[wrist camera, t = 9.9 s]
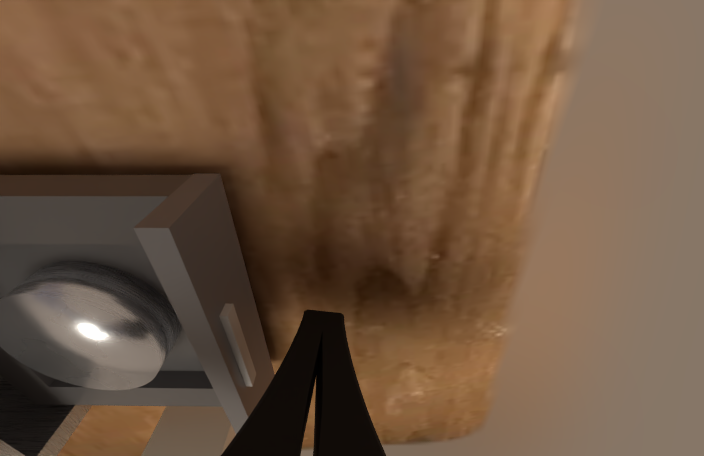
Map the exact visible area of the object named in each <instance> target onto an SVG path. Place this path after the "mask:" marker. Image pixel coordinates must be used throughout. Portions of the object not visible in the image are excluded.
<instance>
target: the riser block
mask: <svg viewBox="0 0 704 456" xmlns="http://www.w3.org/2000/svg"><path fill="white" fill-rule="evenodd" d="M235 436H236V433H235V431H234V429H233V427H232V425H231V423H230V421H229V419H228V417H227V415H226V413H225V411H224V409H223V407H205V406H166V408H165V410H164V412H163V414H162V416H161V418H160V420H159V422H158V424H157V426H156V428H155V430H154V432H153V434H152V436H151V438H150V440H149V442H148V444H147V446H146V448H145V450H144V452H143V454H142V456H221V455H222V453H223V452H224V451H225V449H226V448H227V447H228V445H229V444H230V442H231V441H232V440H233V438H234V437H235Z"/></svg>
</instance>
